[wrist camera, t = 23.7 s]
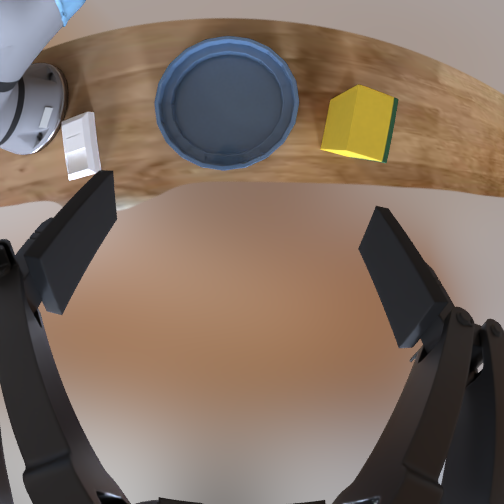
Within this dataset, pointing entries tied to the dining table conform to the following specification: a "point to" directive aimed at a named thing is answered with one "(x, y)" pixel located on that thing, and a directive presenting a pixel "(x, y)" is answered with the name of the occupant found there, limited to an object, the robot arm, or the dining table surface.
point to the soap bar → (81, 145)
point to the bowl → (226, 103)
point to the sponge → (360, 124)
